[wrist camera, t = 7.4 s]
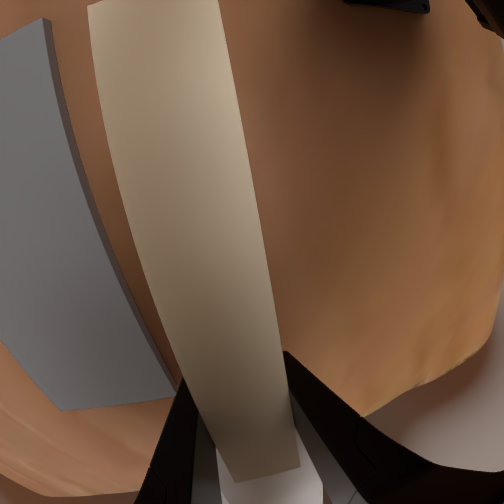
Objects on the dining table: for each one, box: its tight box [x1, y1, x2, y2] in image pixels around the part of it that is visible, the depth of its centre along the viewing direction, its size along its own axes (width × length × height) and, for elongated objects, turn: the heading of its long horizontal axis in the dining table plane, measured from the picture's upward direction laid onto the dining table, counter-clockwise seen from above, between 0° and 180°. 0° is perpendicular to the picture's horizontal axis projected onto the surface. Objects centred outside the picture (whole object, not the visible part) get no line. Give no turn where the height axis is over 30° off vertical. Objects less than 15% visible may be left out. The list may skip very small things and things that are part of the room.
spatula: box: [87, 0, 323, 504], centre depth 10 cm, size 5×24×3 cm, turn 9°
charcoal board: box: [0, 18, 177, 411], centre depth 17 cm, size 12×28×1 cm, turn 9°
